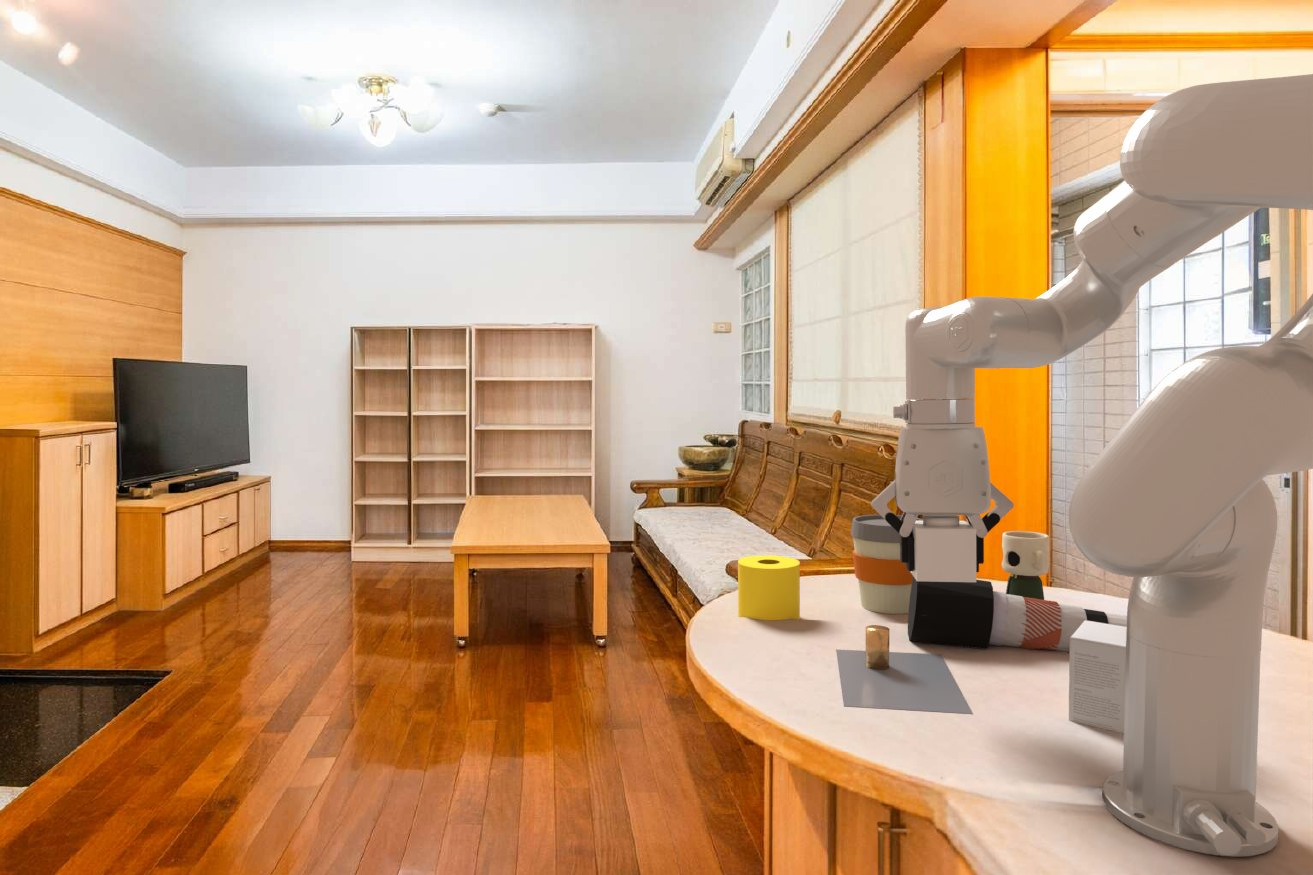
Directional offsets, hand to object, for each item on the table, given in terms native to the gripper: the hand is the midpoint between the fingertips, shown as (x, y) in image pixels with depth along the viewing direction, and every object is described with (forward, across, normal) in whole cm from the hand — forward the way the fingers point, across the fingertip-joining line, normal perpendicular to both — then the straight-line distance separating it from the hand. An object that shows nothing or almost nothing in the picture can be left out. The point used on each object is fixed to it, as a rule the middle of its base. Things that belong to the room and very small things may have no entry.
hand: (941, 568), depth 91 cm
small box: (+17, +16, -2) cm, 24 cm away
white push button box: (+1, 0, 0) cm, 1 cm away
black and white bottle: (+17, +16, +22) cm, 32 cm away
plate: (+16, -4, +6) cm, 18 cm away
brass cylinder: (+15, -6, +10) cm, 19 cm away
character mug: (+16, +20, +44) cm, 51 cm away
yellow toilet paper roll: (+16, -22, +34) cm, 43 cm away
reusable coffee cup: (+16, -2, +44) cm, 46 cm away
